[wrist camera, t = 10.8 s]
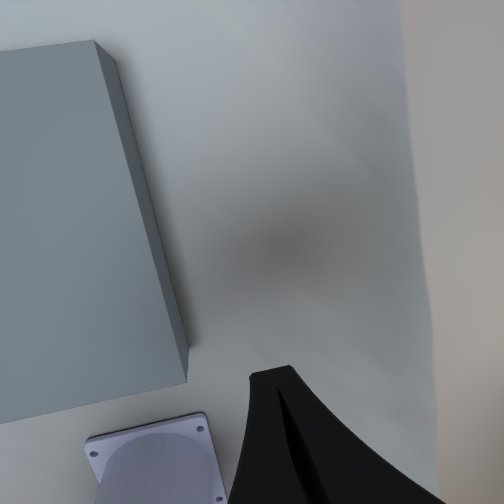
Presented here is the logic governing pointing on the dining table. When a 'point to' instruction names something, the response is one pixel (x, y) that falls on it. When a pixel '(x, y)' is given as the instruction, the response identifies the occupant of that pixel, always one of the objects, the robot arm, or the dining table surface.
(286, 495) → the robot arm
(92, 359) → the bench plate
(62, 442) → the dining table surface
